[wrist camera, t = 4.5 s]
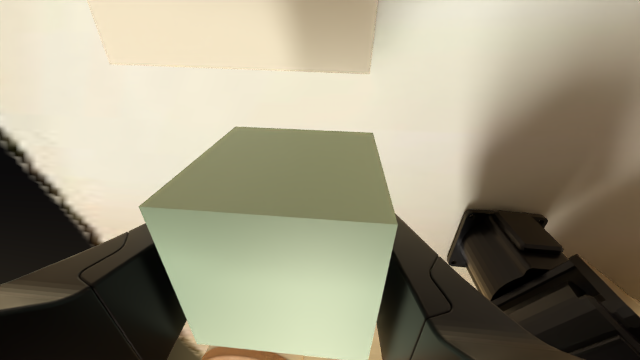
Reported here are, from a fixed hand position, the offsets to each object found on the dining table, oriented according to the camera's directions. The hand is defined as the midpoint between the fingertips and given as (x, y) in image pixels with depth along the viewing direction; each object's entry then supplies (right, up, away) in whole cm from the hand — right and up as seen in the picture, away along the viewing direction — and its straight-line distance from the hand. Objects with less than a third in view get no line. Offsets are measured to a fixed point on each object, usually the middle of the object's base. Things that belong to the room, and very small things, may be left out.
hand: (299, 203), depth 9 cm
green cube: (0, +1, +1) cm, 1 cm away
